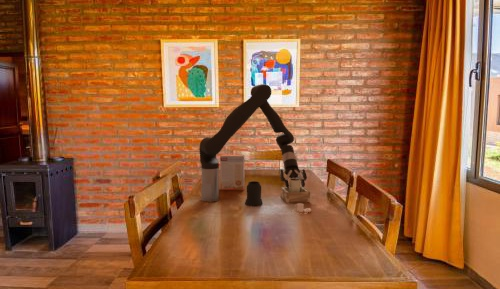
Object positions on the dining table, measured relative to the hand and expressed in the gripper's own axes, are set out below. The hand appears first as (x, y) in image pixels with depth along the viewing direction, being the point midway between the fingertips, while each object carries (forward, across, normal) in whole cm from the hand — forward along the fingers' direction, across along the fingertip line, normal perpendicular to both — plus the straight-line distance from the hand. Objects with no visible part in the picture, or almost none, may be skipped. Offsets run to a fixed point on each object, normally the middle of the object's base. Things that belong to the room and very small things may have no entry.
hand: (295, 187), depth 170 cm
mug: (+6, -23, +4) cm, 24 cm away
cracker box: (-14, -31, +25) cm, 42 cm away
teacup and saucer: (+21, -3, -9) cm, 23 cm away
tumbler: (+3, 0, +6) cm, 6 cm away
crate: (+4, 0, +6) cm, 8 cm away
